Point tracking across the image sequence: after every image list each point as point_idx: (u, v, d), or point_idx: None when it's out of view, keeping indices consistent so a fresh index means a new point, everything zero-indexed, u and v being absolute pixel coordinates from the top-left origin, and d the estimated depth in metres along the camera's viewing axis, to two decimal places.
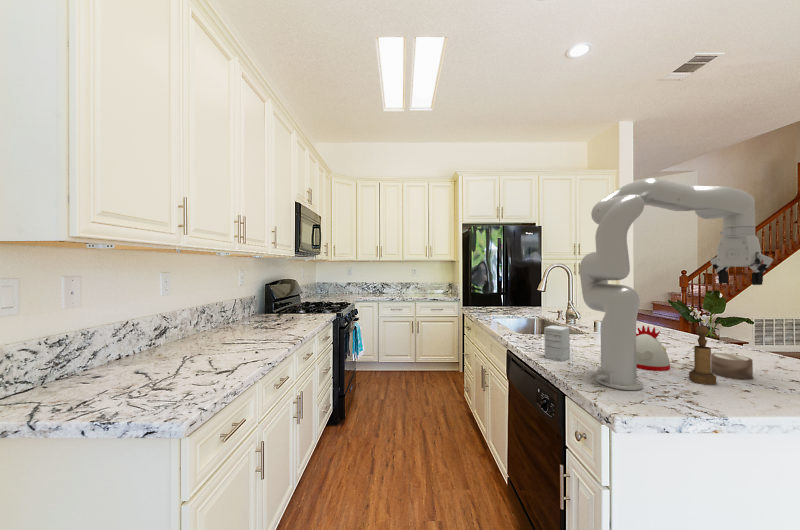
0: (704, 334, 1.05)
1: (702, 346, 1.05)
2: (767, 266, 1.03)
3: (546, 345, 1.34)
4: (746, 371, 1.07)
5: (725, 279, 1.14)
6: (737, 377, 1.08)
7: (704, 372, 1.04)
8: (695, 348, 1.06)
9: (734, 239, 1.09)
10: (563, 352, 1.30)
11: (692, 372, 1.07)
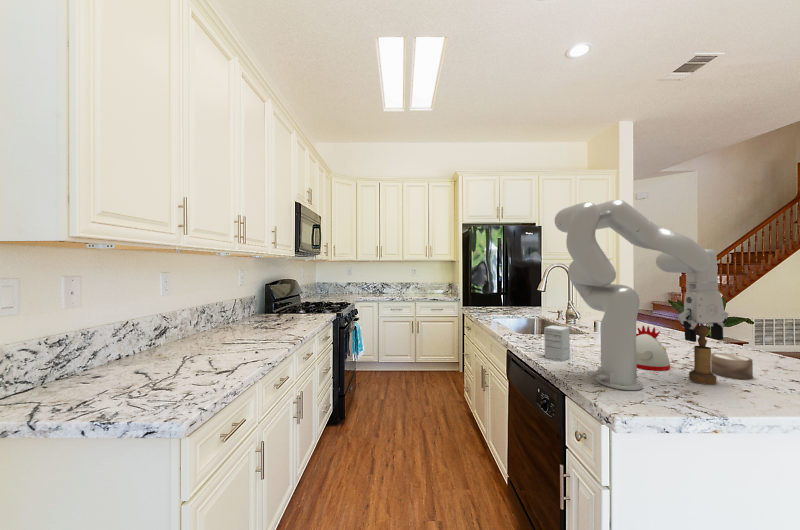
0: (704, 334, 1.05)
1: (702, 346, 1.05)
2: None
3: (546, 345, 1.34)
4: (746, 371, 1.07)
5: None
6: (737, 377, 1.08)
7: (704, 372, 1.04)
8: (695, 348, 1.06)
9: (713, 294, 1.03)
10: (563, 352, 1.30)
11: (692, 372, 1.07)
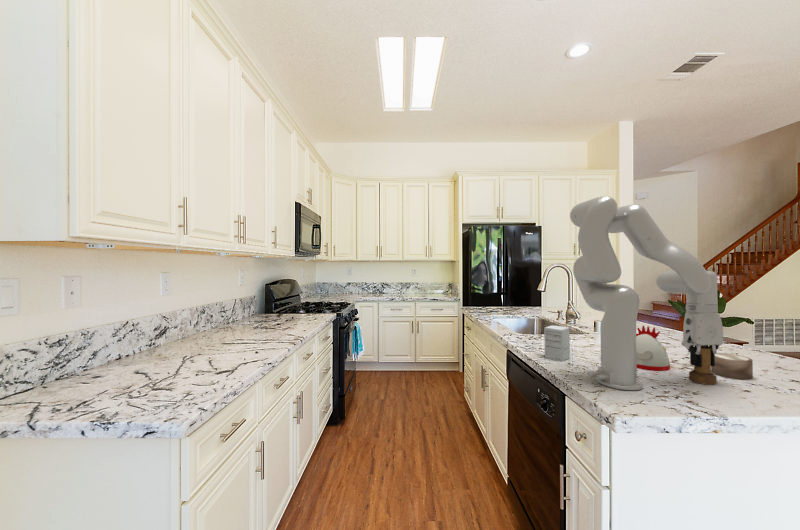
0: None
1: (702, 346, 1.05)
2: None
3: (546, 345, 1.34)
4: (746, 371, 1.07)
5: None
6: (737, 377, 1.08)
7: (704, 372, 1.04)
8: (695, 348, 1.06)
9: (712, 317, 1.03)
10: (563, 352, 1.30)
11: (692, 372, 1.07)
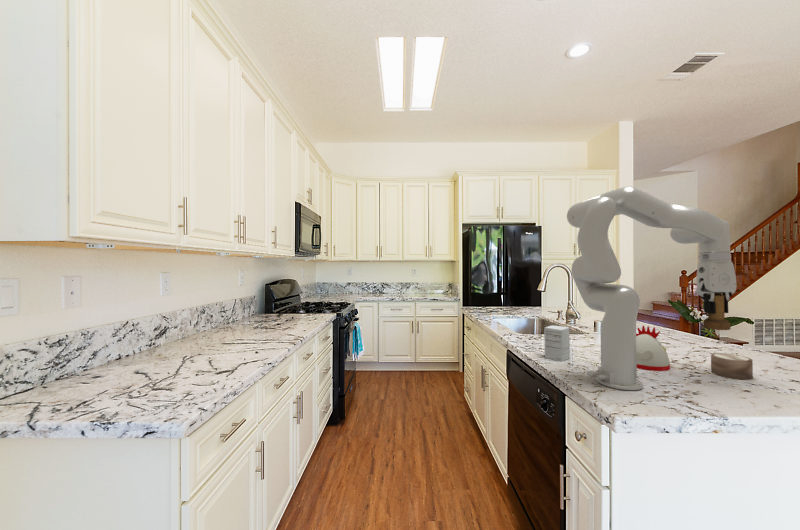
0: None
1: (715, 294, 1.08)
2: None
3: (546, 345, 1.34)
4: (746, 371, 1.07)
5: None
6: (737, 377, 1.08)
7: (718, 318, 1.07)
8: None
9: (725, 264, 1.06)
10: (563, 352, 1.30)
11: (706, 320, 1.10)
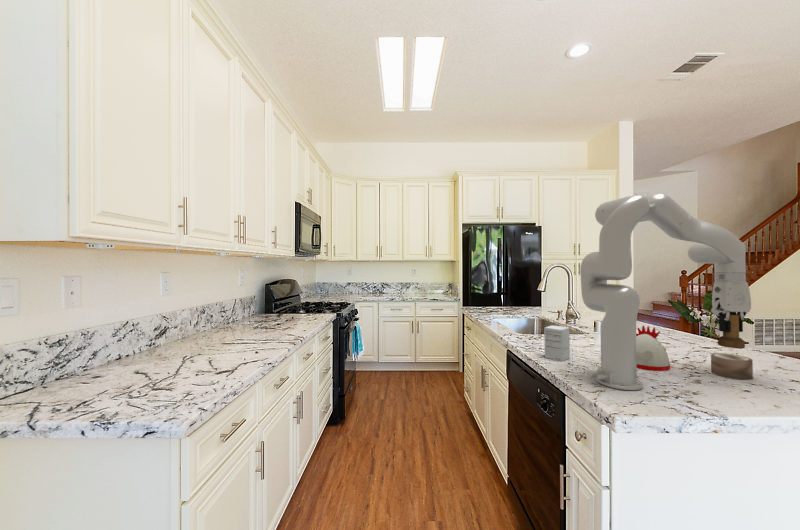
0: None
1: (730, 313, 1.11)
2: None
3: (546, 345, 1.34)
4: (746, 371, 1.07)
5: None
6: (737, 377, 1.08)
7: (733, 337, 1.10)
8: None
9: (741, 284, 1.10)
10: (563, 352, 1.30)
11: (721, 338, 1.13)
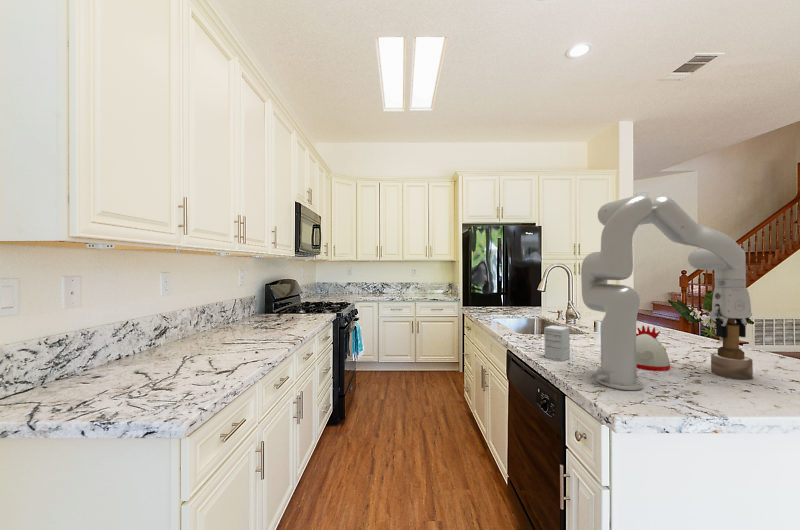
0: None
1: (731, 323, 1.11)
2: None
3: (546, 345, 1.34)
4: (746, 371, 1.07)
5: None
6: (737, 377, 1.08)
7: (733, 347, 1.10)
8: None
9: (741, 291, 1.09)
10: (563, 352, 1.30)
11: (721, 348, 1.13)
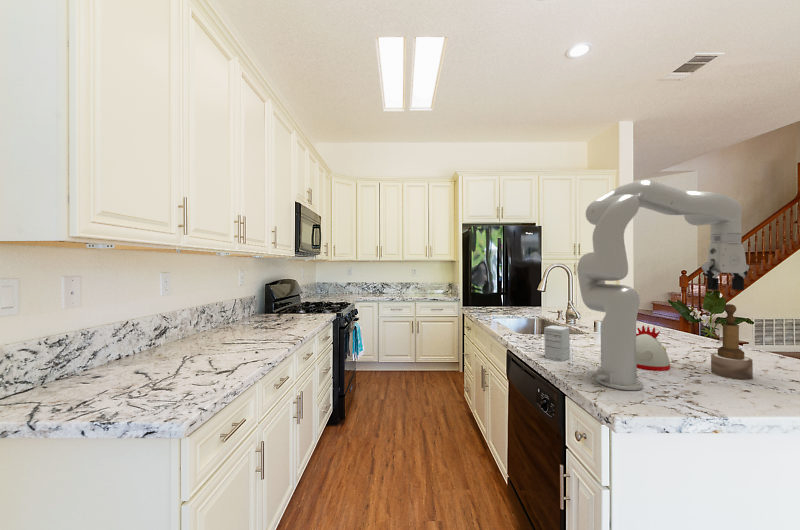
0: (732, 312, 1.11)
1: (730, 323, 1.11)
2: None
3: (546, 345, 1.34)
4: (746, 371, 1.07)
5: None
6: (737, 377, 1.08)
7: (733, 347, 1.10)
8: (723, 325, 1.12)
9: (736, 246, 1.10)
10: (563, 352, 1.30)
11: (721, 348, 1.13)
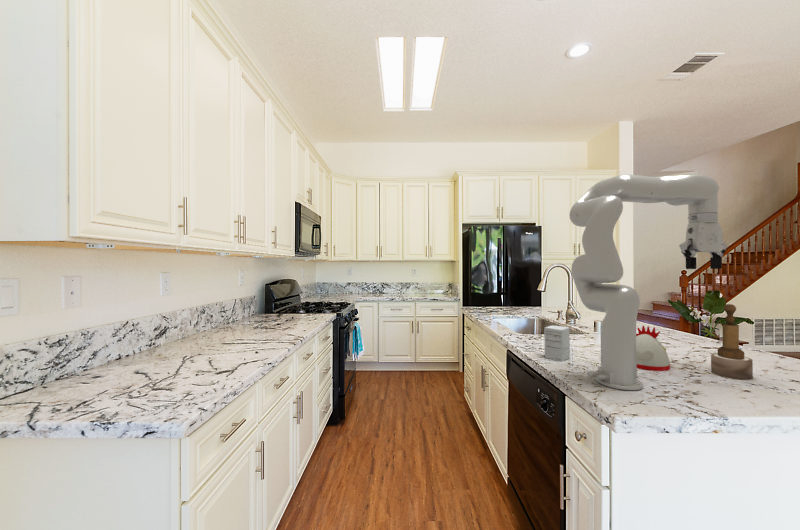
0: (732, 312, 1.11)
1: (730, 323, 1.11)
2: None
3: (546, 345, 1.34)
4: (746, 371, 1.07)
5: None
6: (737, 377, 1.08)
7: (733, 347, 1.10)
8: (723, 325, 1.12)
9: (713, 224, 1.10)
10: (563, 352, 1.30)
11: (721, 348, 1.13)
